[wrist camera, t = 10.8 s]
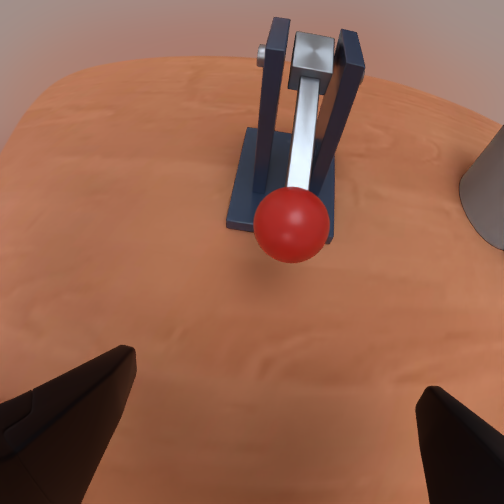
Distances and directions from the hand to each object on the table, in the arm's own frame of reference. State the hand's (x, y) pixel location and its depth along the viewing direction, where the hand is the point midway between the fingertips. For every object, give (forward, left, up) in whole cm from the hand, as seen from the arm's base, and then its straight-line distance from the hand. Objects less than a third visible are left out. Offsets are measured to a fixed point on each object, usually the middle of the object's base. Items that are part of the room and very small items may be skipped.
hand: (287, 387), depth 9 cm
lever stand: (+14, +8, -12) cm, 21 cm away
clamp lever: (+11, +6, -4) cm, 13 cm away
